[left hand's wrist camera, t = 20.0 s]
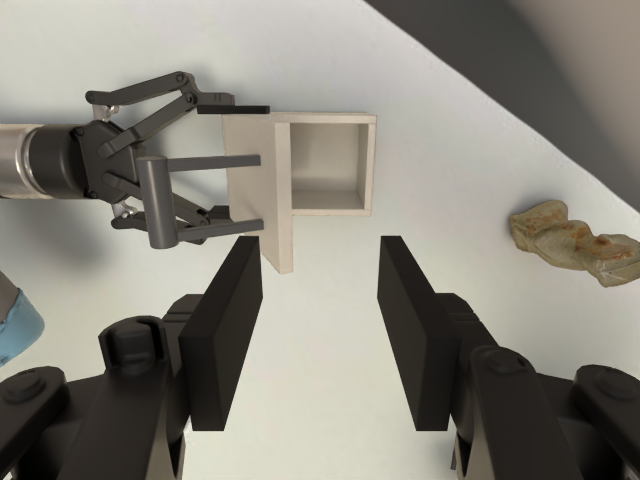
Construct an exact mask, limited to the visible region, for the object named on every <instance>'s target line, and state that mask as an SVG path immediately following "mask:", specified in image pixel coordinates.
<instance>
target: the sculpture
mask: <svg viewBox="0 0 640 480" xmlns="http://www.w3.org/2000/svg"><path fill="white" fill-rule="evenodd" d="M509 221H510V227H511V228H512V230H513V233H512V237H513V240H514V242H515V244H516V246H517V248H518V249H520V250H522V251H525V252H530V253H535V254H538V255H539V256H540V257H541V258H542V259H544V260H545V261H546V262H548V263H549V264H550V265H552V266H555V267H560V268H566V269H571V270H580V271H584V270H587V271H588V272H589V273H590V274H591V275H592V276H594V277H596V278H597V279H598V281H599V283H600V284H601V285H602V286H603V287H613V286H619V285H623V284H626V283H628V282H631V281H633V280H636V279H639V278H640V242H638V241H637V240H634V239H632V238H630V237H628V236H626V235H623V234H615V235H608V234H600V235H599V236H597V237H595V236H593V234H592V232H591V230H590V228H589V226H588V225H587V224H586V223H585V222H583V221H580V220H571V221H568V207H567V205H566V204H565V203H564V202H562V201H559V200H551V201H547V202H544V203H541V204H539V205H537V206H535V207H533V208H531V209H530V210H528V211H526V212H525V213H522V214H519V215H518V214H514V215H512V216H511V217H510V219H509Z"/></svg>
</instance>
